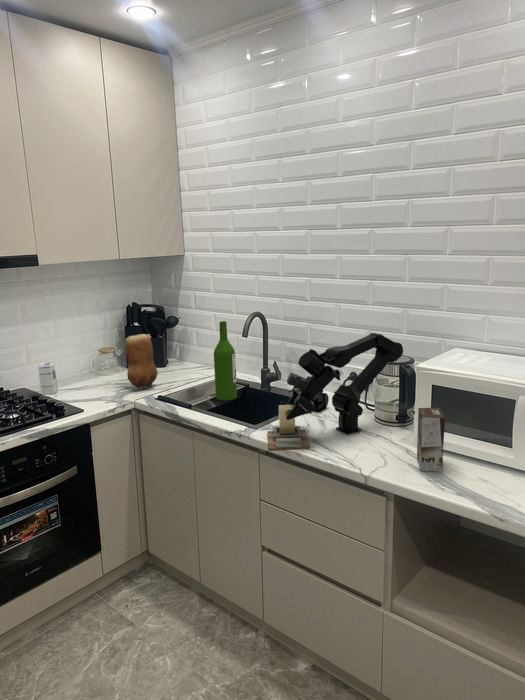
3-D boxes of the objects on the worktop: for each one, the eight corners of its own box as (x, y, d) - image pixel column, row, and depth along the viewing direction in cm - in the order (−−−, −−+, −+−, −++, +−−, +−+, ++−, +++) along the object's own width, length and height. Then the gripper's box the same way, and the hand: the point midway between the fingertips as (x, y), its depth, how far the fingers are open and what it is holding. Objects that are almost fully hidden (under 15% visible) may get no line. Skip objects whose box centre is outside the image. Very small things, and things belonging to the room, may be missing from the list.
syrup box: (55, 396, 234) (51, 365, 231) (41, 397, 233) (37, 365, 230) (58, 393, 240) (54, 362, 237) (44, 394, 239) (40, 362, 236)
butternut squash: (132, 384, 250) (127, 332, 245) (160, 383, 251) (156, 331, 246) (125, 392, 237) (120, 337, 232) (155, 391, 237) (151, 336, 232)
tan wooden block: (279, 433, 181) (278, 405, 179) (294, 432, 181) (293, 404, 179) (280, 438, 176) (279, 409, 174) (295, 438, 176) (294, 409, 174)
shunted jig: (267, 433, 183) (267, 425, 183) (305, 432, 183) (305, 424, 183) (268, 450, 169) (268, 442, 168) (309, 448, 169) (309, 440, 168)
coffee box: (443, 472, 150) (445, 417, 146) (419, 471, 151) (421, 417, 148) (438, 458, 159) (440, 407, 155) (416, 457, 160) (417, 406, 156)
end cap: (328, 408, 208) (328, 391, 206) (320, 413, 202) (320, 396, 201) (306, 404, 213) (306, 388, 212) (297, 409, 208) (297, 392, 206)
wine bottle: (237, 400, 221) (233, 323, 214) (215, 401, 221) (211, 323, 214) (236, 393, 230) (233, 319, 223) (216, 394, 229) (212, 320, 223)
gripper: (298, 358, 182) (267, 390, 185) (303, 372, 164) (268, 407, 167) (322, 379, 184) (291, 411, 186) (329, 395, 166) (294, 430, 168)
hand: (286, 414), depth 177 cm, fingers open, 9 cm apart
